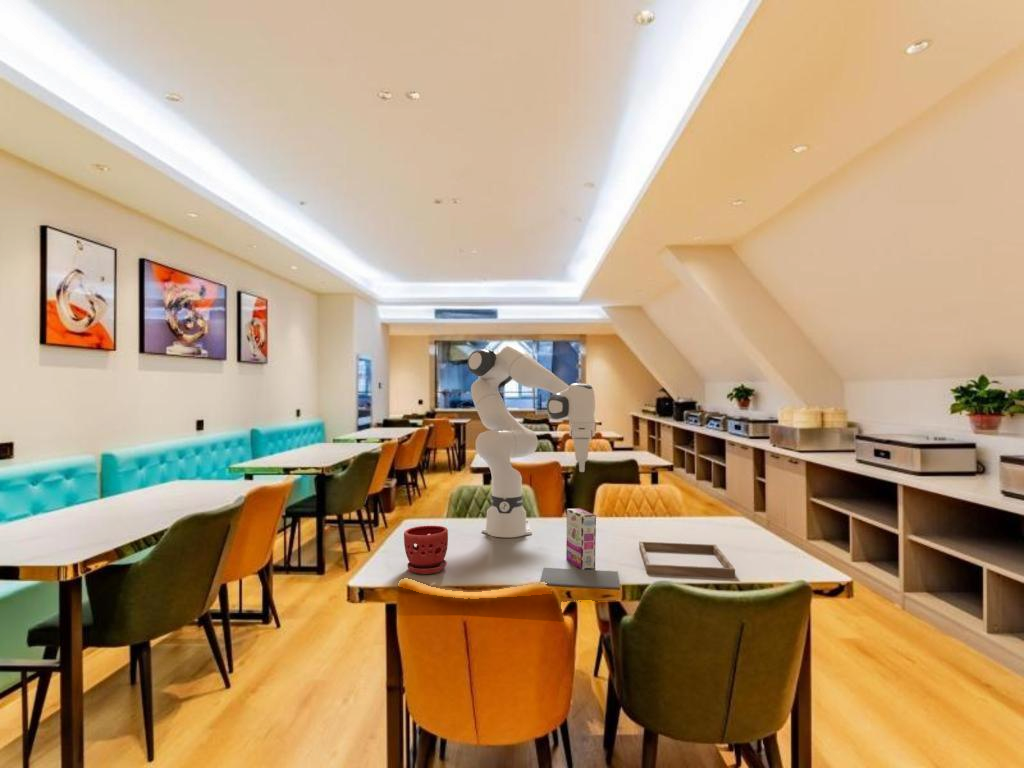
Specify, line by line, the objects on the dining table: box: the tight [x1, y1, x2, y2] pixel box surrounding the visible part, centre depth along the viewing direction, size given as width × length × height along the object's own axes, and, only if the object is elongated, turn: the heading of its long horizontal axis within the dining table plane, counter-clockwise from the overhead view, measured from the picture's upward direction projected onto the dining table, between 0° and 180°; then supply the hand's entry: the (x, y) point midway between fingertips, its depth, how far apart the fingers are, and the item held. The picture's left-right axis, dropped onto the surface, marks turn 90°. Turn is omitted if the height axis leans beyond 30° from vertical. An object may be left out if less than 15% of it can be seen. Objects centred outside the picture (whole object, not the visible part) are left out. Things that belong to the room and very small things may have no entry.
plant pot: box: [403, 525, 449, 575], centre depth 167 cm, size 13×13×12 cm
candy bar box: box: [565, 507, 597, 570], centre depth 173 cm, size 11×5×16 cm, turn 20°
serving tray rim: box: [638, 541, 736, 579], centre depth 175 cm, size 25×25×2 cm
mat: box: [539, 567, 621, 590], centre depth 160 cm, size 13×22×1 cm, turn 82°
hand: (581, 471), depth 190 cm, fingers closed
